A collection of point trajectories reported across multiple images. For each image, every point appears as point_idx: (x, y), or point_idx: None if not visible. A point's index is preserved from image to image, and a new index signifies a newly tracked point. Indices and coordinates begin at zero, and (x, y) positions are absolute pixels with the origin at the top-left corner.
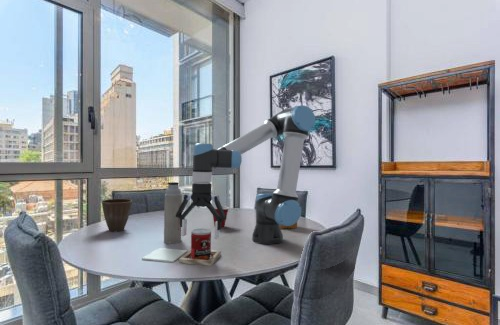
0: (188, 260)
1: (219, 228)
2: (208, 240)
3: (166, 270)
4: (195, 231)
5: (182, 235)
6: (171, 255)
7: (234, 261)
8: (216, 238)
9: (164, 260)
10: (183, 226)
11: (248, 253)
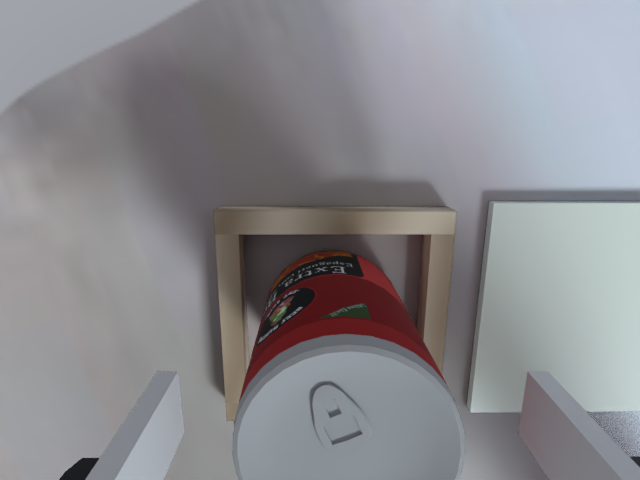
0: (383, 209)
1: (75, 476)
2: (250, 360)
3: (480, 50)
4: (419, 442)
5: (543, 376)
6: (543, 297)
7: (98, 315)
8: (157, 376)
9: (558, 202)
10: (601, 450)
11: (67, 467)
